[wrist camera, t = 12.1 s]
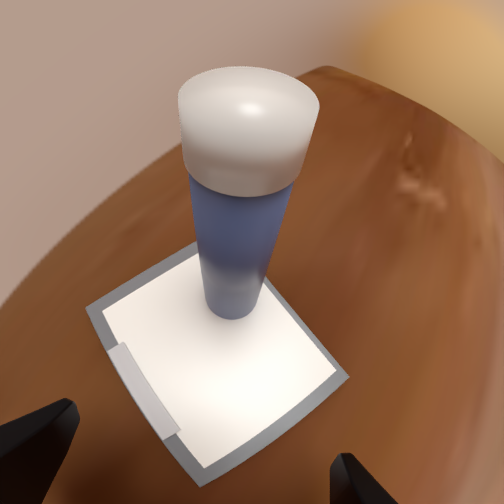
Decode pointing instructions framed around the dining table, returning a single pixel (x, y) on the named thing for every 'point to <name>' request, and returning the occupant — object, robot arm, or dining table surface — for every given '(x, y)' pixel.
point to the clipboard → (211, 365)
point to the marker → (241, 173)
